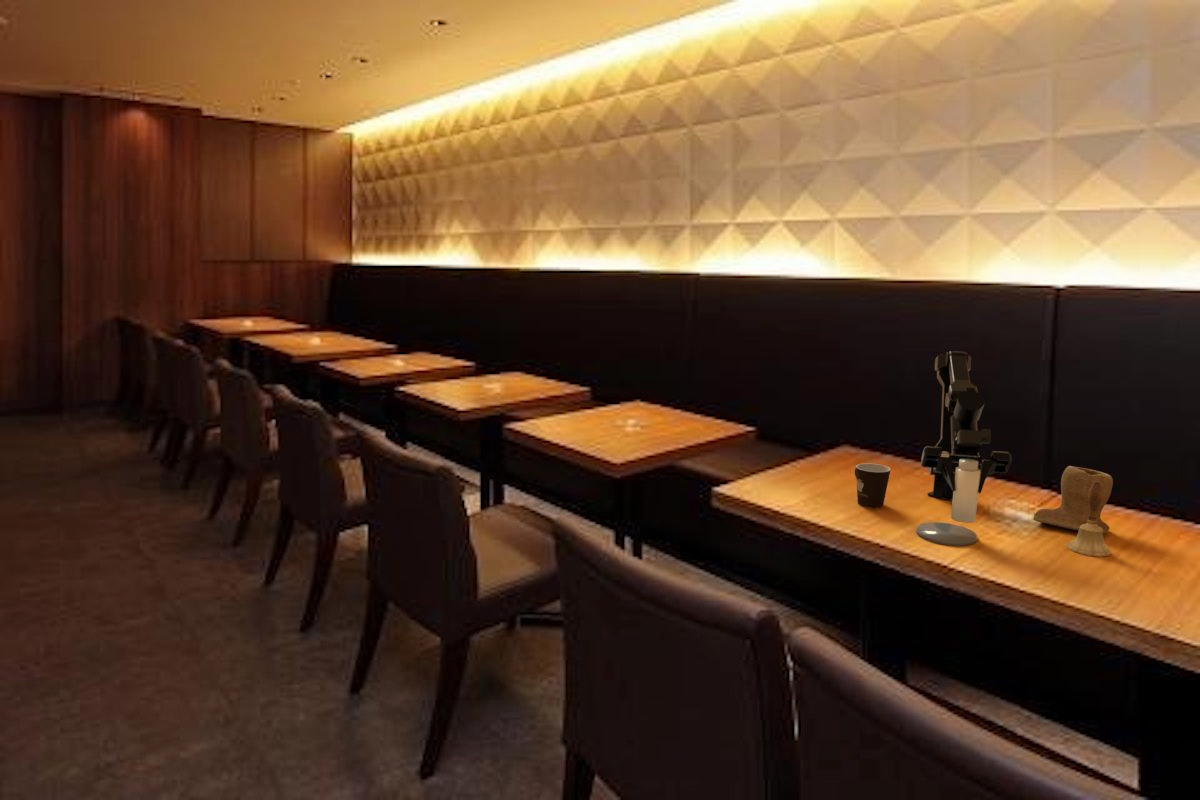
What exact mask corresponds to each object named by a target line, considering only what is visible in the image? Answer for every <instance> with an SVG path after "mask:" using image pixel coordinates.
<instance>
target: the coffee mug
mask: <svg viewBox="0 0 1200 800" xmlns="http://www.w3.org/2000/svg"><path fill="white" fill-rule="evenodd" d="M890 474H891V468H890V467H889V466H886V465H884V464H877V463H868V462H867V463H866V462H865V463H859V464H857V465H856V464H855V469H854V475H855V479H856V496H857V497H856V498H857V505H858V506H860V507H864V508H870V509H881V508H883V507H884V503H885V498H886V494H887V489H888V484H889V480H890Z"/></svg>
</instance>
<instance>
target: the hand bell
mask: <svg viewBox="0 0 1200 800" xmlns="http://www.w3.org/2000/svg"><path fill="white" fill-rule="evenodd" d="M1088 500H1089V506H1090V510H1089V515H1088V516H1089V517H1088V522H1087V523H1086V524H1082V525H1081V526H1080V528H1079V531H1078V532H1077V534H1076V537H1075V538H1074V539H1073V540H1072V541H1070V542H1069V543H1068V544H1067V549H1068V550H1070V551H1072V552H1074V553H1078V554H1079V555H1084V556H1090V557H1098V558H1100V557H1107V556H1108V557H1109V556H1110V555H1111V554H1112V552H1111V550H1110V549H1109V547H1107V545H1106V542H1105V539H1104V534H1103V529H1102V528H1101V527H1099V526H1098V525H1097V524H1096V522H1097V521H1096V520H1097V511H1098V507H1099V505H1100V503H1101V500H1102V488H1101V482H1100V481H1094V482H1093V484H1092V486H1091V488H1090V490H1089V496H1088Z"/></svg>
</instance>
